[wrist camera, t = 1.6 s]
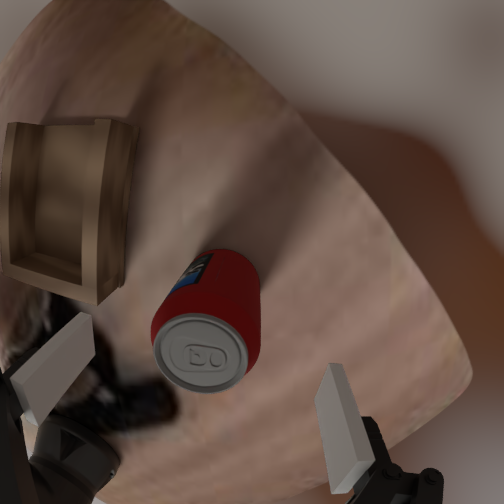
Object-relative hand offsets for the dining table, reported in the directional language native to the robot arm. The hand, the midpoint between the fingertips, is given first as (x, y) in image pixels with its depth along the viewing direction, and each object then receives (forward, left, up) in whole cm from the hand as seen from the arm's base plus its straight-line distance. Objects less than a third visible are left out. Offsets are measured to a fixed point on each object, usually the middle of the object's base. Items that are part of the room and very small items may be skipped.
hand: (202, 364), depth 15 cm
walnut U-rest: (-11, +13, -13) cm, 21 cm away
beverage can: (0, 0, -13) cm, 13 cm away
